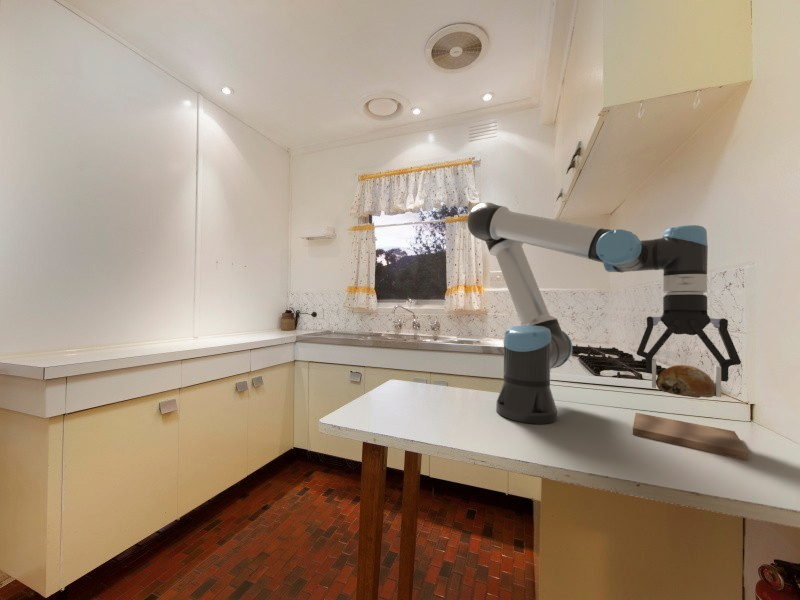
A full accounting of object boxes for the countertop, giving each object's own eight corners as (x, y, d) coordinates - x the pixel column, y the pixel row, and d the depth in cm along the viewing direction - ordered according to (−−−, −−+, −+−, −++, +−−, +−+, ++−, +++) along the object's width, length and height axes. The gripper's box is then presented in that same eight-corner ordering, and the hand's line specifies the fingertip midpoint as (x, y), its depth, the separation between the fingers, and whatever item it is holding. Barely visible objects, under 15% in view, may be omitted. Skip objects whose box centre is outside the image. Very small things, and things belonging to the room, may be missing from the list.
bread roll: (718, 416, 66) (737, 383, 66) (668, 392, 68) (686, 360, 67) (685, 402, 76) (702, 373, 75) (642, 382, 78) (658, 353, 77)
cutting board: (632, 434, 72) (632, 427, 72) (635, 418, 83) (635, 412, 83) (748, 460, 61) (748, 452, 61) (734, 437, 71) (734, 431, 71)
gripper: (623, 293, 77) (622, 385, 76) (763, 292, 62) (763, 405, 62) (625, 295, 82) (624, 380, 82) (753, 294, 68) (754, 397, 68)
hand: (684, 391), depth 72 cm, fingers closed on bread roll, 10 cm apart
